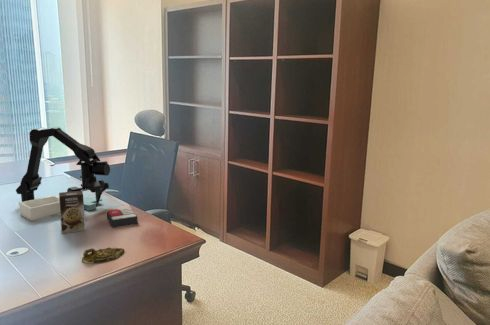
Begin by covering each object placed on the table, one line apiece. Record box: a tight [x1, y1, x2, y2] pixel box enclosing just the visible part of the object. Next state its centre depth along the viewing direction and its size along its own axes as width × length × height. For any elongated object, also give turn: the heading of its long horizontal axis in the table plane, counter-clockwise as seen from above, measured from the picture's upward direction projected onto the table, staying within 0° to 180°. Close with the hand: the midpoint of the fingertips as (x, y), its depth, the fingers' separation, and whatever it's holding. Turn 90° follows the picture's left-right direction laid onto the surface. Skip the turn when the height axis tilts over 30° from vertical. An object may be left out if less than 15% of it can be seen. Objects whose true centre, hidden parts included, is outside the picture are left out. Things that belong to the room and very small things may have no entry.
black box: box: [106, 207, 139, 228], centre depth 171 cm, size 11×4×15 cm
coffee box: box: [58, 191, 86, 234], centre depth 158 cm, size 9×6×16 cm
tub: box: [18, 195, 60, 222], centre depth 176 cm, size 12×16×6 cm
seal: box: [81, 247, 125, 264], centre depth 136 cm, size 9×5×15 cm
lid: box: [83, 195, 103, 211], centre depth 188 cm, size 17×16×2 cm
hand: (89, 204), depth 184 cm, fingers open, 8 cm apart
